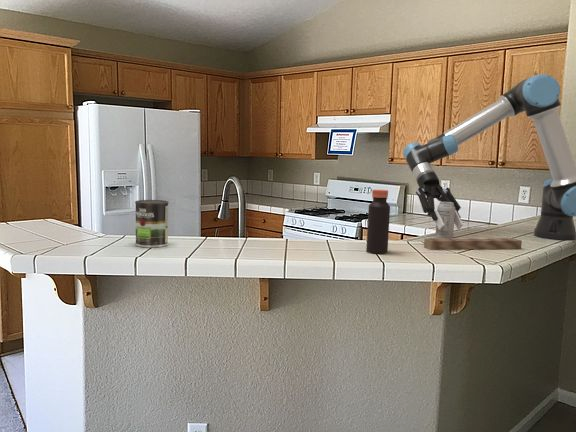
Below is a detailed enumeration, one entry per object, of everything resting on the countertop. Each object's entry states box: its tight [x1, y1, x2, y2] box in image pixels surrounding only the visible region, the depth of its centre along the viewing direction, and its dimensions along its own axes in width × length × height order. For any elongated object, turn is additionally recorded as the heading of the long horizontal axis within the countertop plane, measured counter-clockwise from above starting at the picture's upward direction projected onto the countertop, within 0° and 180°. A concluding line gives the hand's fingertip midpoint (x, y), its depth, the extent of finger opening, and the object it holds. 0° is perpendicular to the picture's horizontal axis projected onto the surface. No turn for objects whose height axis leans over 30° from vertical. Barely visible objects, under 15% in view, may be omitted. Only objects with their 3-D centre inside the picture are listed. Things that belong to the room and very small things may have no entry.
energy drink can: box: [434, 201, 455, 238], centre depth 183 cm, size 6×6×15 cm
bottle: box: [365, 189, 391, 255], centre depth 164 cm, size 7×7×20 cm
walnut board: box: [423, 237, 523, 251], centre depth 177 cm, size 34×5×3 cm, turn 101°
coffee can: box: [134, 199, 169, 249], centre depth 165 cm, size 10×10×14 cm
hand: (451, 227), depth 180 cm, fingers open, 7 cm apart
